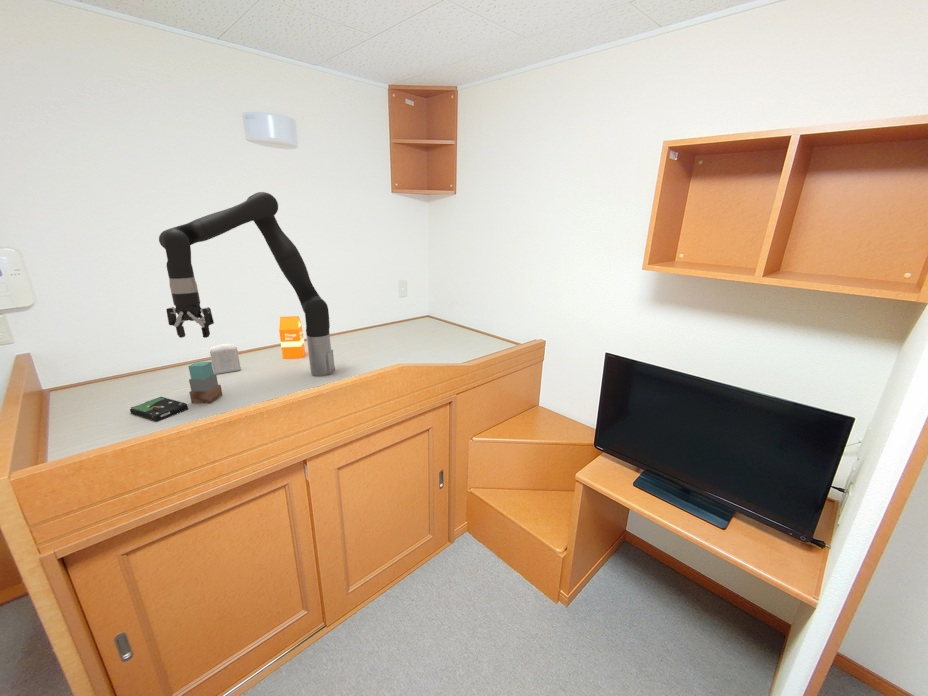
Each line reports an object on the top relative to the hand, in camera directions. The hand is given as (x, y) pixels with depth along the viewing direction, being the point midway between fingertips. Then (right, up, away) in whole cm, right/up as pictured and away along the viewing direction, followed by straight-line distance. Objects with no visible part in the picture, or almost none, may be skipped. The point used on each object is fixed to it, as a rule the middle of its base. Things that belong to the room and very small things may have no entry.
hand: (194, 337), depth 138 cm
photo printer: (-9, -14, +35) cm, 39 cm away
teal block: (0, -14, +5) cm, 15 cm away
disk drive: (-10, -26, -2) cm, 28 cm away
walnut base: (0, -23, +7) cm, 24 cm away
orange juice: (+11, -8, +56) cm, 57 cm away
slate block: (0, -19, +6) cm, 20 cm away
